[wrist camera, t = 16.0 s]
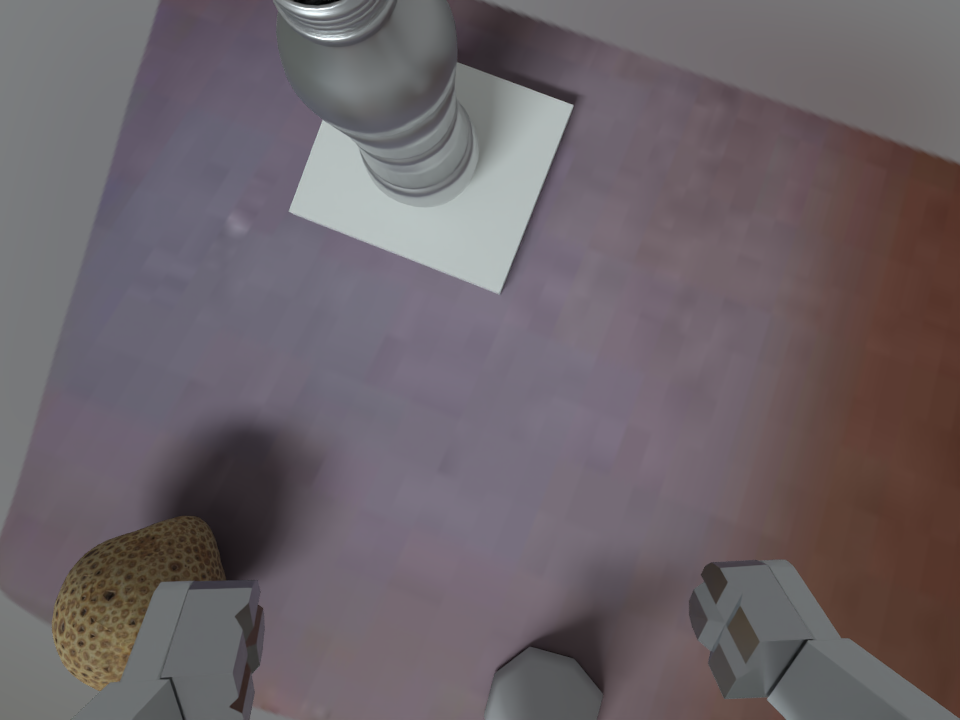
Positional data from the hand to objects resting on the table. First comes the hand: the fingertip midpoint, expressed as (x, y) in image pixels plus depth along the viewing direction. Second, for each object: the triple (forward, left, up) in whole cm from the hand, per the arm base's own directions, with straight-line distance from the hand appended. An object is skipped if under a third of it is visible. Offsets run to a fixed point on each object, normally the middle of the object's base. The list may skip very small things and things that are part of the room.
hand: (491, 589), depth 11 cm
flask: (-9, +16, -27) cm, 33 cm away
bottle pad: (+10, -13, -27) cm, 31 cm away
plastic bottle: (+10, -12, -26) cm, 31 cm away
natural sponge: (+15, +17, -27) cm, 36 cm away
